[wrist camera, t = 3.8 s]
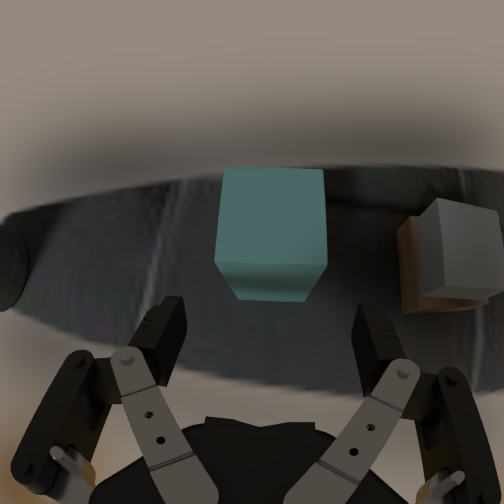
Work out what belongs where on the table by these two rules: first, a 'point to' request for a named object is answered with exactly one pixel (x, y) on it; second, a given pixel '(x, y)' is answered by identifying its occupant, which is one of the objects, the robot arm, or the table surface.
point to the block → (272, 232)
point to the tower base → (412, 277)
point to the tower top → (460, 251)
